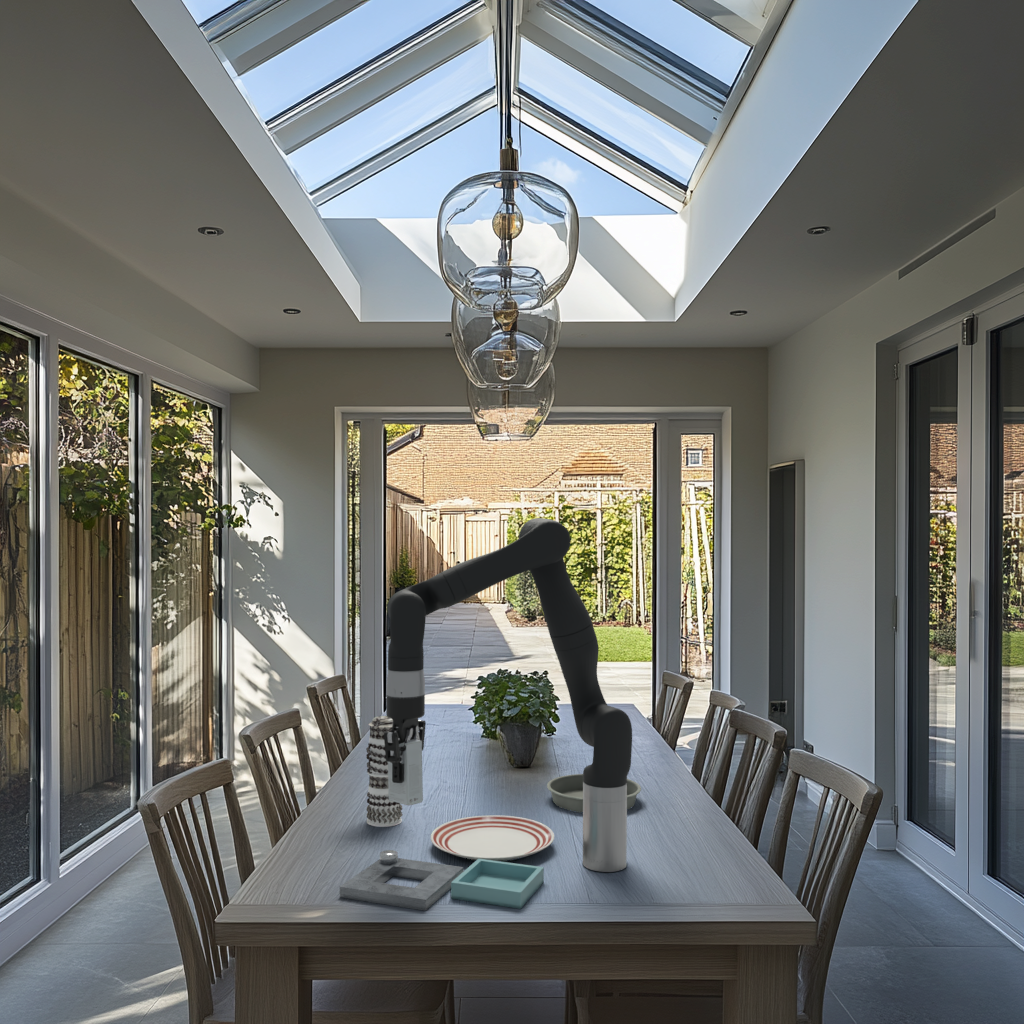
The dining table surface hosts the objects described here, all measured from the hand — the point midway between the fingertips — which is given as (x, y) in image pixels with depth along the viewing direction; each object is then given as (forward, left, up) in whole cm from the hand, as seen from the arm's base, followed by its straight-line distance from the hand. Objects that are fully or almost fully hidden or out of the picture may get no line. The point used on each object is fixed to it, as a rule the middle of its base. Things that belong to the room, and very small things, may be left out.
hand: (405, 778), depth 179 cm
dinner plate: (-28, +8, -22) cm, 36 cm away
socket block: (0, 0, -21) cm, 21 cm away
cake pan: (-71, +20, -22) cm, 77 cm away
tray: (-5, +18, -21) cm, 28 cm away
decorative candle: (-36, -23, -21) cm, 48 cm away
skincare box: (0, 0, -5) cm, 5 cm away
